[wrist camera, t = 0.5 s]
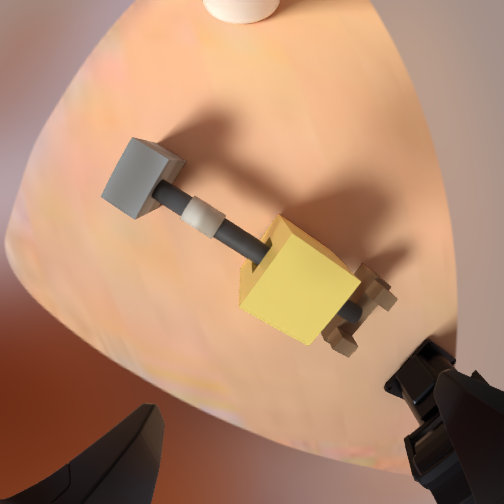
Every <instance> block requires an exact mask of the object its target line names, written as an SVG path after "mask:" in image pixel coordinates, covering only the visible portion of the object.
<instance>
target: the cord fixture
mask: <svg viewBox="0 0 504 504" xmlns="http://www.w3.org/2000/svg"><path fill="white" fill-rule="evenodd" d="M185 163H186V161H185V160H184V159H182V158H180V157H179V156H177V155H175V154H174V153H172V152H170V151H169V150H167V149H166V148H164V147H162V146H161V145H159V144H157V143H154V142H150V141H146V140H142V139H138V138H133V137H132V139H131V140H130V142H129V144H128V145H127V147H126V149H125V151H124V153H123V154H122V156H121V158H120V160H119V162H118V163H117V165H116V167H115V169H114V171H113V173H112V175H111V177H110V179H109V181H108V183H107V185H106V187H105V189H104V191H103V193H102V195H101V197H102V198H103V199H105V200H106V201H108V202H109V203H111V204H112V205H114V206H115V207H117V208H118V209H120V210H121V211H123V212H124V213H126V214H127V215H129V216H130V217H132V218H133V219H137V218H139V217H141V216H143V215H145V214H147V213H149V212H151V211H153V210H155V209H157V208H159V206H160V204H162V205H164V206H166V207H167V208H169V209H170V210H172V211H173V212H175V213H177V214H178V215H180V216H181V218H180V219H181V220H182V221H184V222H185V223H187V224H189V225H190V226H192V227H193V228H195V229H196V230H198V231H200V232H201V233H203V234H204V235H206V236H207V237H209V238H211V239H212V237H214V238H216V239H217V240H219V241H221V242H222V243H224V244H225V245H227V246H228V247H230V248H232V249H233V250H235V251H236V252H238V253H240V254H241V255H243V256H244V257H246V258H247V259H249V260H251V261H252V262H254V263H255V264H257V265H259V264H260V262H261V261H262V260H263V258H264V257H265V255H266V254H267V253H268V251H269V250H270V248H271V247H269V246H267V245H266V244H264V243H263V242H261V241H260V240H258V239H257V238H255V237H254V236H252V235H251V234H249V233H247V232H246V231H244V230H243V229H241V228H240V227H238V226H237V225H235V224H233V223H232V222H230V221H229V220H227V219H226V218H225V217H226V215H225V214H223V213H222V212H220V211H218V210H217V209H215V208H214V207H212V206H211V205H209V204H207V203H206V202H204V201H203V200H201V199H200V198H198V197H196V196H194V197H191V196H190V195H188V194H187V193H185V192H183V191H182V190H180V189H179V188H177V187H176V186H174V185H172V184H173V182H174V180H175V179H176V177H177V175H178V174H179V172H180V171H181V169H182V167H183V166H184V164H185ZM354 275H355V276H356V277H357V278H358V279H359V280H360V281H361V283H360V284H359V286H358V287H357V288H356V289H355V291H354V292H353V293H352V295H351V296H350V297H349V298H348V300H347V301H346V302H345V303H344V305H343V306H342V307H341V308H340V310H339V311H338V312H337V313H336V314H335V316H334V317H333V318H332V319H331V321H330V322H329V323H328V324H327V325H326V326H325V328H324V329H323V330H322V331H321V334H322V336H323V338H324V341H326V342H328V343H330V344H331V347H332V349H333V350H335V351H337V352H339V353H341V354H343V355H345V356H346V357H348V358H349V357H350V355H351V354H352V353H353V352H354V351H355V350H356V349H357V348H358V345H357V343H356V342H355V340H354V338H353V337H352V335H353V334H354V333H355V331H356V330H357V329H358V328H359V327H360V326H361V324H362V323H363V322H364V321H365V320H366V318H367V317H368V316H369V315H370V314H371V312H372V311H373V310H374V309H375V307H376V306H377V305H380V306H381V307H382V308H384V309H385V310H387V311H389V310H390V309H391V307H392V306H393V305H394V304H395V302H396V301H397V300H398V299H397V298H396V297H395V296H394V295H393V294H392V293H391V292H390V291H389V289H390V288H391V286H390V285H389V284H387V283H386V282H385V281H384V280H383V279H382V278H381V277H380V276H378V275H377V274H376V273H375V272H374V271H372V270H371V269H370V268H368V267H367V266H366V265H365V264H363V263H362V265H361V266H360V267H359V269H358V270H357V271H356V273H355V274H354Z"/></svg>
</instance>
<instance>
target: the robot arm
mask: <svg viewBox="0 0 504 504" xmlns="http://www.w3.org/2000/svg"><path fill="white" fill-rule="evenodd" d="M455 362H456V359H455V358H454V357H453V356H452V355H450V354H449V353H448V352H446V351H445V350H444V349H442V348H441V347H440V346H439V345H437V344H436V343H435V342H433V341H432V340H431V339H427V340H425V341H424V343H423V344H422V345H421V346H420V347H419V348H418V350H417V351H416V352H415V353H414V354H413V355H412V357H411V358H410V359H409V360H408V361H407V362H406V363H405V364H404V365H403V367H402V368H401V369H400V370H399V371H398V372H397V373H396V374H395V375H394V376H393V377H392V378H391V379H390V380H389V381H388V382H387V383H386V384H385V386H384V389H385V391H386V392H388V393H390V394H393V395H395V396H397V397H400V398H402V399H404V400H405V401H406V403H407V404H408V406H409V408H410V409H411V411H412V413H413V414H414V416H415V418H416V419H417V421H418V423H419V425H420V427H419V428H417V429H416V430H415V431H414V432H413V433H411V434H410V435H408V436H406V437H405V438H404V442H405V448H406V452H407V456H408V459H409V463H410V468H411V472H412V475H413V477H414V480H415V481H417V482H419V483H420V484H421V485H422V486H423V487H424V488H426V489H429V490H430V491H431V492H432V494H433V496H434V498H435V500H436V502H437V504H504V391H501V390H499V389H497V388H494V387H492V386H490V385H489V384H488V383H487V382H486V381H485V379H484V378H483V377H482V376H481V375H480V374H479V373H478V372H477V371H476V370H475V371H474V372H473V373H472V376H471V377H469V376H467V375H465V374H462V373H460V372H458V371H457V370H456V369H455V368H454V366H453V365H454V364H455ZM164 427H165V425H164V420H163V417H162V415H161V412H160V410H159V407H158V406H157V405H156V404H153V403H143V404H142V405H140V406H139V407H138V408H137V409H136V410H134V411H133V412H132V413H131V414H130V415H128V416H127V417H126V418H125V419H123V420H122V421H121V422H120V423H118V424H117V425H116V426H115V427H114V428H112V429H111V430H110V431H109V432H107V433H106V434H105V435H103V436H102V437H101V438H100V439H99V440H97V441H96V442H95V443H93V444H92V445H91V446H90V447H88V448H87V449H86V450H84V451H83V452H82V453H81V454H79V455H78V456H77V457H75V458H74V459H72V460H71V461H70V462H69V464H68V463H67V464H66V465H64V466H63V467H62V468H60V469H59V470H57V471H56V472H54V473H53V474H52V475H50V476H49V477H47V478H45V479H44V480H42V481H40V482H39V483H37V484H35V485H33V486H31V487H29V488H28V489H25V490H24V491H22V492H20V493H18V494H16V495H14V496H12V497H9V498H6V499H1V500H0V504H151V501H152V497H153V493H154V489H155V484H156V480H157V476H158V472H159V467H160V461H161V452H162V442H163V435H164Z"/></svg>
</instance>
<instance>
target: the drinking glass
mask: <svg viewBox="0 0 504 504" xmlns="http://www.w3.org/2000/svg"><path fill="white" fill-rule="evenodd" d="M279 3H280V0H203V4H204V6H205V8H206V9H207V11H208V12H209V13H210V14H211V15H212V16H214V17H215V18H217V19H219V20H221V21H224V22H228V23H233V24H248V23H254V22H257V21H260V20H263V19H265V18H266V17H268V16H270V15H271V14H272V13H273V12H274V11H275V10H276V9H277V7H278V5H279Z"/></svg>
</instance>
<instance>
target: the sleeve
mask: <svg viewBox="0 0 504 504" xmlns="http://www.w3.org/2000/svg"><path fill="white" fill-rule="evenodd" d="M260 241H261V242H263V243H264V244H266V245H267V246H269V247H271V248H270V250H269V251H268V253H267V254H266V255H265V257H264V258H263V260H262V261H261V262H260V264H259V265H257V264H255V263H254V262H252V261H251V260H249V259H247V260H246V261H245V263H244V264H243V266H242V267H241V268H240V289H239V308H241V309H242V310H244V311H246V312H248V313H249V314H251V315H253V316H255V317H256V318H258V319H260V320H262V321H263V322H265V323H267V324H269V325H271V326H272V327H274V328H276V329H278V330H280V331H282V332H283V333H285V334H287V335H289V336H291V337H293V338H294V339H296V340H298V341H300V342H302V343H304V344H306V345H307V346H309V345H310V344H311V343H312V342H313V340H314V339H315V338H316V337H317V336H318V335H319V333H320V332H321V331H322V330H323V329H324V328H325V326H326V325H327V324H328V323H329V322H330V321H331V319H332V318H333V317H334V316H335V314H336V313H337V312H338V311H339V310H340V308H341V307H342V306H343V305H344V303H345V302H346V301H347V300H348V298H349V297H350V296H351V295H352V293H353V292H354V291H355V289H356V288H357V287H358V286H359V284H360V283H361V281H360V280H359V279H358V278H357V277H356V276H355V275H354V274H353V273H352V272H351V271H350V270H349V268H348V267H347V266H346V265H345V264H344V263H343V262H342V261H341V260H340V259H339V258H338V257H337V256H336V255H335V254H334V253H333V252H332V251H331V250H329V249H328V248H327V247H325V246H324V245H322V244H321V243H320V242H318V241H317V240H315V239H314V238H312V237H311V236H310V235H308V234H307V233H305V232H304V231H302V230H301V229H300V228H298V227H297V226H295V225H294V224H292V223H291V222H289V221H288V220H287V219H285V218H284V217H282V216H281V215H279V214H278V215H277V217H276V218H275V220H274V221H273V222H272V224H271V225H270V227H269V228H268V230H267V231H266V233H265V234H264V235H263V237H262V238H261V240H260Z"/></svg>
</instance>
